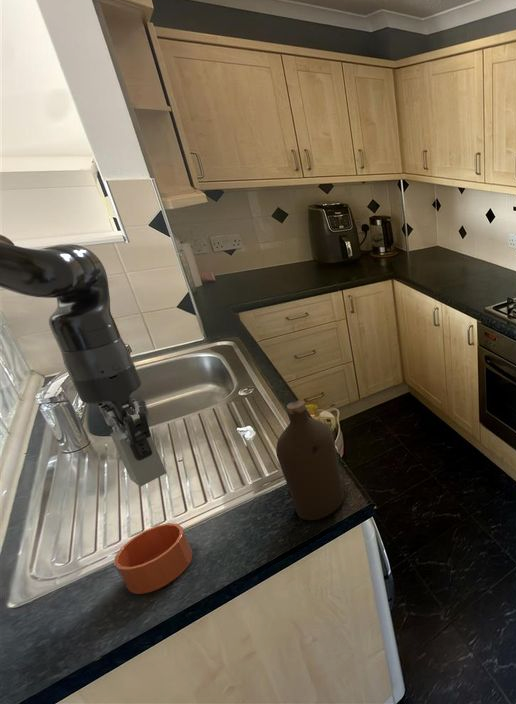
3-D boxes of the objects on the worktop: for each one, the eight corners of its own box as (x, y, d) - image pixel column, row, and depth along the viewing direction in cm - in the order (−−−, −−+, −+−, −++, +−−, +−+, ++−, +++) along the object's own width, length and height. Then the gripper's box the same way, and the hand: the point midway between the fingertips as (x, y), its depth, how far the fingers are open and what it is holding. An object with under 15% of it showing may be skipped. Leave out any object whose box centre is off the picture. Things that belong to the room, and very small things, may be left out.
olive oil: (356, 488, 92) (335, 392, 83) (327, 526, 82) (300, 422, 73) (315, 482, 94) (290, 388, 85) (282, 519, 84) (250, 417, 75)
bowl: (141, 603, 68) (128, 578, 66) (117, 579, 73) (104, 555, 70) (202, 558, 76) (192, 535, 74) (177, 539, 80) (167, 516, 78)
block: (140, 487, 72) (119, 440, 68) (130, 479, 74) (109, 433, 70) (166, 473, 75) (148, 427, 72) (157, 466, 77) (138, 421, 73)
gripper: (55, 368, 67) (96, 453, 73) (88, 388, 60) (129, 480, 66) (114, 351, 73) (147, 431, 79) (149, 367, 66) (182, 453, 72)
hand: (138, 453), depth 73 cm, fingers closed on block, 4 cm apart
